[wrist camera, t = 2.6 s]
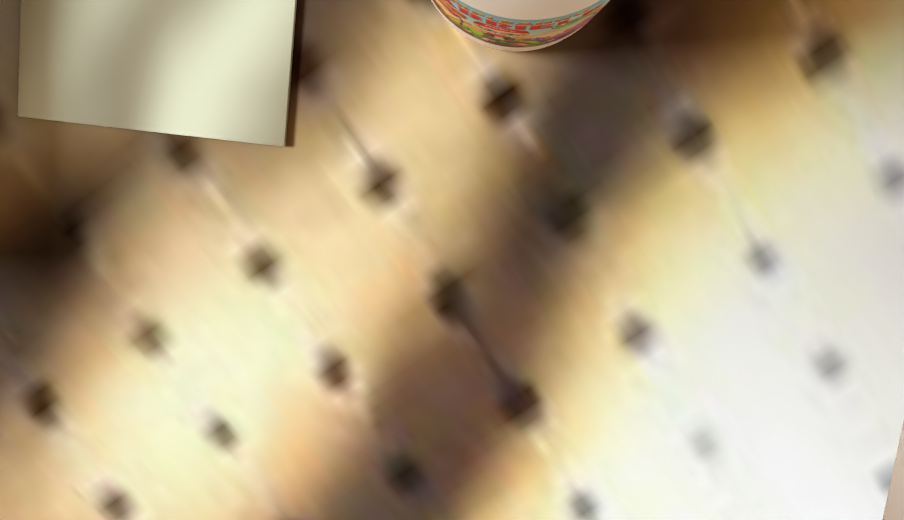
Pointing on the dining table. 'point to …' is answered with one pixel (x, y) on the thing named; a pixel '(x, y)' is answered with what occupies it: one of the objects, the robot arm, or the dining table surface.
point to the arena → (160, 65)
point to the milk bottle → (518, 20)
